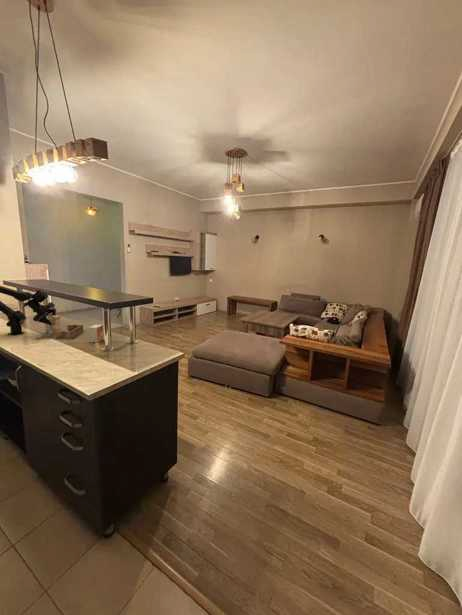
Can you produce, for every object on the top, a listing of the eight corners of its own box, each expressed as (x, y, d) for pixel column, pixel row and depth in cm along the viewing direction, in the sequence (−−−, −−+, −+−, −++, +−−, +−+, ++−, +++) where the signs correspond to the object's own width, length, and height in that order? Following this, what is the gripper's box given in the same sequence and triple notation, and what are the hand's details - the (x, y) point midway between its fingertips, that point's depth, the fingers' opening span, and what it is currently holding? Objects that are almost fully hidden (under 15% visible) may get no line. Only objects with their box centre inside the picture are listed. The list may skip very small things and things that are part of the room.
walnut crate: (55, 338, 166) (55, 331, 165) (68, 331, 182) (68, 324, 181) (72, 338, 167) (71, 331, 166) (83, 331, 184) (83, 324, 183)
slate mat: (41, 336, 167) (41, 336, 166) (51, 331, 178) (51, 331, 178) (59, 337, 168) (59, 336, 168) (68, 332, 180) (68, 331, 180)
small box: (97, 343, 163) (96, 327, 161) (88, 342, 163) (88, 327, 161) (103, 339, 171) (103, 324, 169) (95, 338, 171) (95, 324, 169)
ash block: (49, 335, 170) (48, 316, 168) (53, 332, 175) (52, 315, 173) (57, 335, 171) (56, 317, 169) (61, 333, 176) (60, 315, 173)
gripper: (36, 301, 159) (56, 318, 162) (52, 297, 177) (70, 312, 181) (24, 312, 159) (44, 329, 163) (41, 307, 177) (59, 322, 181)
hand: (55, 323), depth 172 cm, fingers open, 9 cm apart
